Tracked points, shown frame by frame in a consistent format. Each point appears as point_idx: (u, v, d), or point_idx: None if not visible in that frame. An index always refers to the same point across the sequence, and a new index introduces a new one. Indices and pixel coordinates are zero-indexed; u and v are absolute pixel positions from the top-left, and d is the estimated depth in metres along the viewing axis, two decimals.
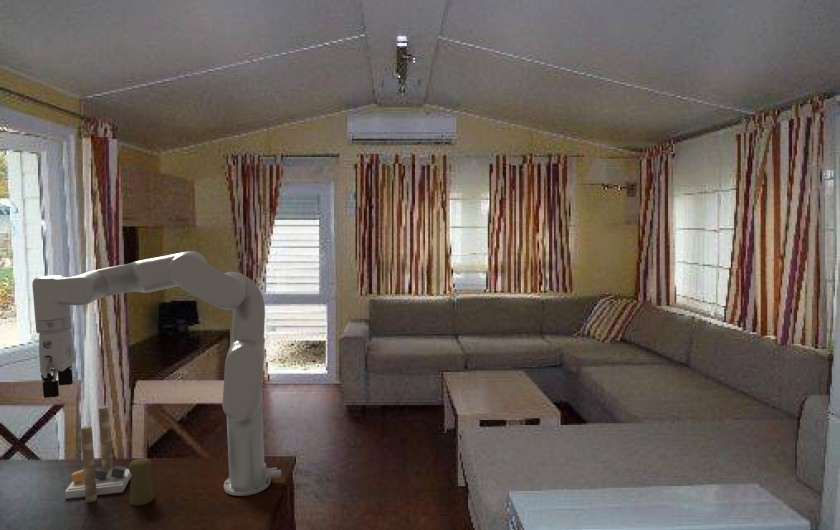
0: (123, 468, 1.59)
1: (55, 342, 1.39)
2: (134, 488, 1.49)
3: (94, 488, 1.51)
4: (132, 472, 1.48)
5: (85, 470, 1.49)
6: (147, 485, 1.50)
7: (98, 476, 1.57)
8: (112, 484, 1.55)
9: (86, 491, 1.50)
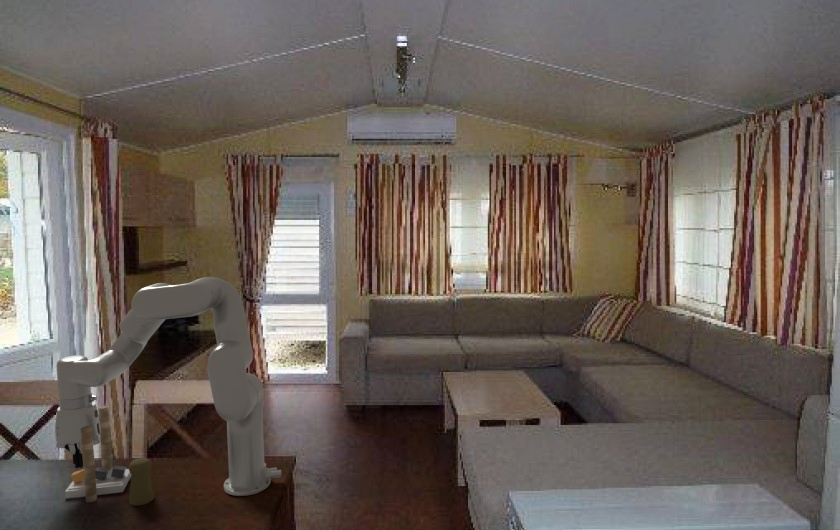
0: (123, 468, 1.59)
1: (97, 410, 1.58)
2: (134, 488, 1.49)
3: (94, 488, 1.51)
4: (132, 472, 1.48)
5: (85, 470, 1.49)
6: (147, 485, 1.50)
7: (98, 476, 1.57)
8: (112, 484, 1.55)
9: (86, 491, 1.50)
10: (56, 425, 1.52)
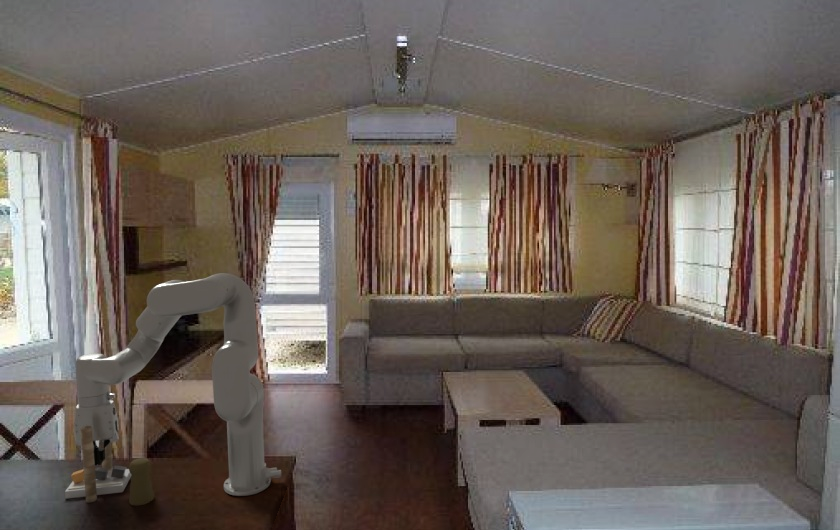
0: (123, 468, 1.59)
1: (115, 408, 1.59)
2: (134, 488, 1.49)
3: (94, 488, 1.51)
4: (132, 472, 1.48)
5: (85, 470, 1.49)
6: (147, 485, 1.50)
7: (98, 476, 1.57)
8: (112, 484, 1.55)
9: (86, 491, 1.50)
10: (75, 423, 1.53)
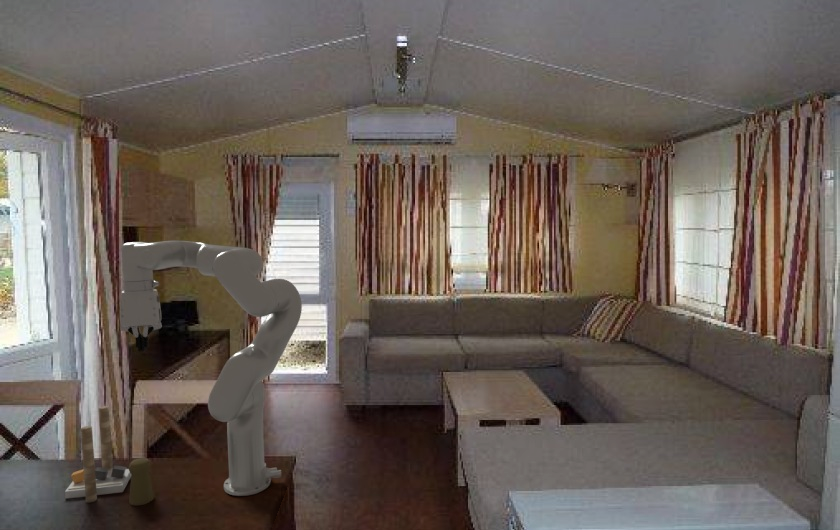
0: (123, 468, 1.59)
1: (158, 296, 1.63)
2: (134, 488, 1.49)
3: (94, 488, 1.51)
4: (132, 472, 1.48)
5: (85, 470, 1.49)
6: (147, 485, 1.50)
7: (98, 476, 1.57)
8: (112, 484, 1.55)
9: (86, 491, 1.50)
10: (121, 307, 1.57)
